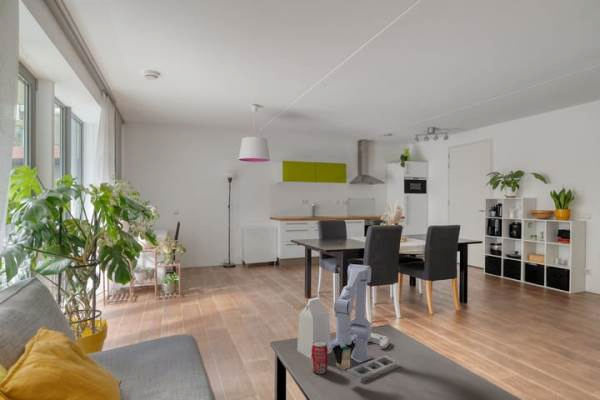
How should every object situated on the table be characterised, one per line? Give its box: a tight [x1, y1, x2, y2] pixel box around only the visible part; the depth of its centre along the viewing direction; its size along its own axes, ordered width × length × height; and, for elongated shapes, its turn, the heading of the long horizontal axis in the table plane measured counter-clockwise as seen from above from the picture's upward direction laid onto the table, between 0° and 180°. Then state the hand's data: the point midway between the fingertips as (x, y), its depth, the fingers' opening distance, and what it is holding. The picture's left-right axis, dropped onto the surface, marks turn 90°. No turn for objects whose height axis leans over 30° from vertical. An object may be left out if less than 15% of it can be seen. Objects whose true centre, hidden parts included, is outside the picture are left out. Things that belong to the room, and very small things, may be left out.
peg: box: [335, 344, 351, 371], centre depth 139 cm, size 4×4×8 cm
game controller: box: [367, 332, 390, 349], centre depth 176 cm, size 14×4×10 cm
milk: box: [296, 297, 332, 360], centre depth 167 cm, size 12×12×26 cm
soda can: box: [310, 341, 329, 375], centre depth 149 cm, size 7×7×12 cm
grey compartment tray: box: [346, 354, 400, 384], centre depth 149 cm, size 8×24×2 cm, turn 124°
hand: (343, 361), depth 139 cm, fingers closed on peg, 4 cm apart
